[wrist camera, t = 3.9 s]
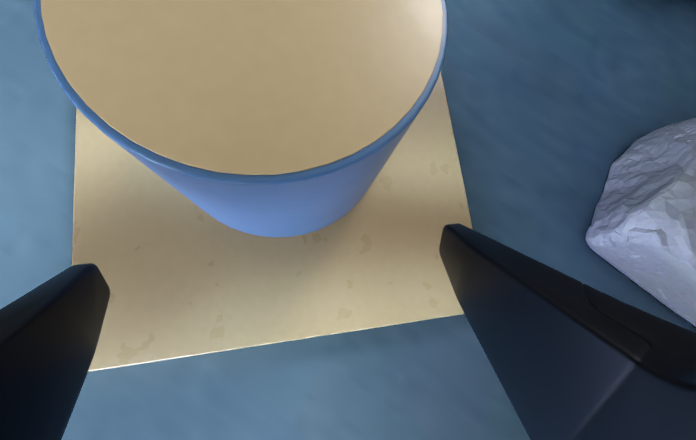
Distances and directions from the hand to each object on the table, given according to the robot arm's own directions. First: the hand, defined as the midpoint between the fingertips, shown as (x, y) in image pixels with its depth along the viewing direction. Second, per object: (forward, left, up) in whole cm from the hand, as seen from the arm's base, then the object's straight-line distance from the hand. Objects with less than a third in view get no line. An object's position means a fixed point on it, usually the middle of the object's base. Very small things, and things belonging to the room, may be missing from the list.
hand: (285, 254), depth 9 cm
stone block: (+11, -20, -7) cm, 24 cm away
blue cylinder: (+6, +3, -6) cm, 9 cm away
